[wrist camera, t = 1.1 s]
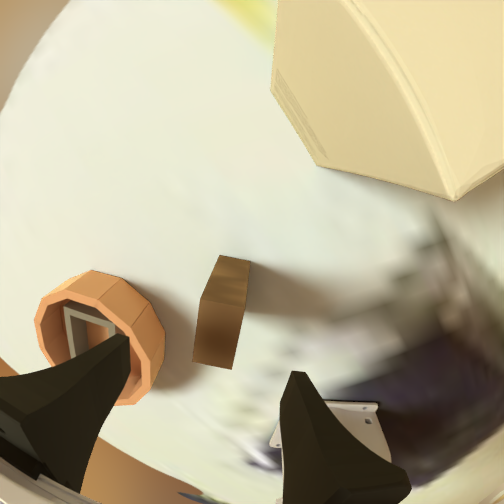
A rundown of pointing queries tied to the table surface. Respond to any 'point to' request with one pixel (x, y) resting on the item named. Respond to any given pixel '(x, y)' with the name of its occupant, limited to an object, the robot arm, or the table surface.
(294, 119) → the skincare box
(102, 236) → the table surface
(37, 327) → the faceted orange bowl
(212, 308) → the wooden rectangular peg
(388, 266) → the table surface
